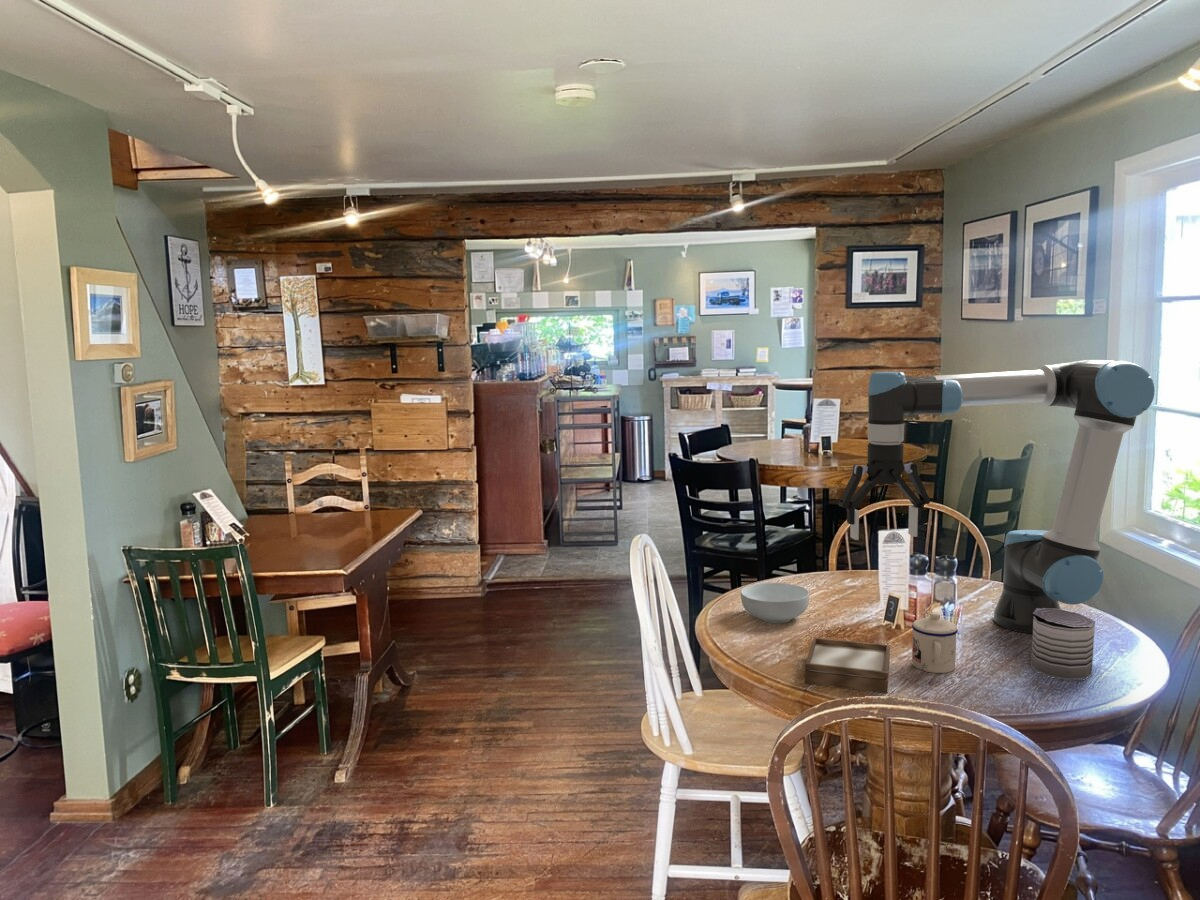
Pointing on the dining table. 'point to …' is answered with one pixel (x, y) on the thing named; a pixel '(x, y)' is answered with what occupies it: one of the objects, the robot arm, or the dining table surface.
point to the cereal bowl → (775, 601)
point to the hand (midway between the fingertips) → (883, 537)
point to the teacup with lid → (934, 644)
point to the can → (1062, 644)
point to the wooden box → (848, 665)
